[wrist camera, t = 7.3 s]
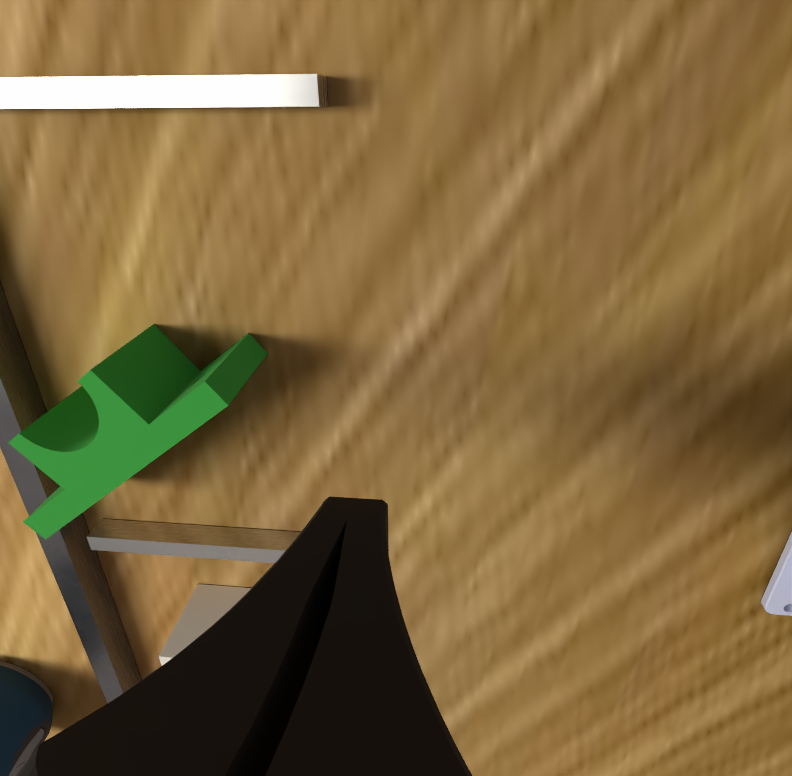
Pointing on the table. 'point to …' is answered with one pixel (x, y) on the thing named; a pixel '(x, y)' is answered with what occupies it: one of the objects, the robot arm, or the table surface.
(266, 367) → the table surface
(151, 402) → the pipe clamp
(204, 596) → the seated block
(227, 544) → the grey pronged frame
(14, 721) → the soda can
